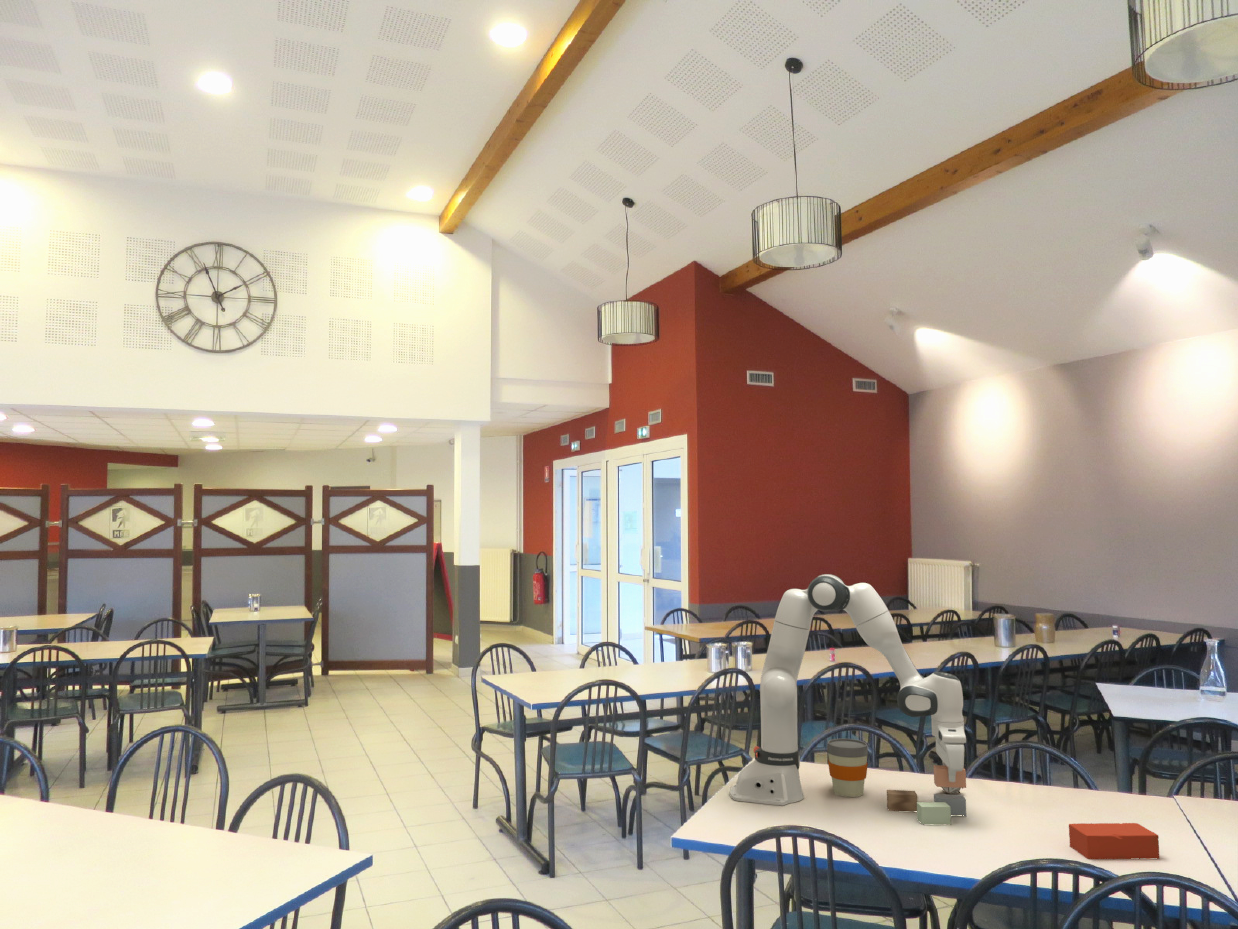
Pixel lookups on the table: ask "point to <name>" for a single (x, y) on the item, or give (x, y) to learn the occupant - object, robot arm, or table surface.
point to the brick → (1113, 841)
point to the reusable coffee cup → (847, 766)
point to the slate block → (953, 803)
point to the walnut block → (901, 800)
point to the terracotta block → (942, 777)
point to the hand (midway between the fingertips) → (949, 778)
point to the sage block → (933, 813)
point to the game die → (951, 789)
